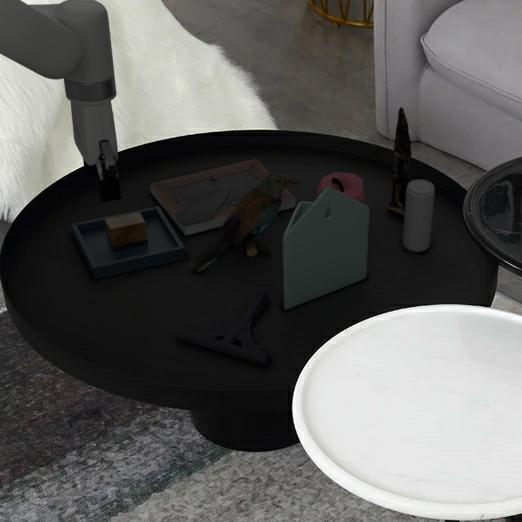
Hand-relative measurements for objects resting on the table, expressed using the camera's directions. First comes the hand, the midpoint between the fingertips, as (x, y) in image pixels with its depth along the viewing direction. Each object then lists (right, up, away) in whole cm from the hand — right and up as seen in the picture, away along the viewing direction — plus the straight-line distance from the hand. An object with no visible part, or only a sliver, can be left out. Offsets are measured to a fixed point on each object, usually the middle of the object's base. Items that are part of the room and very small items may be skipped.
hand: (102, 186), depth 162 cm
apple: (+38, -3, +19) cm, 42 cm away
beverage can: (+52, -8, +14) cm, 54 cm away
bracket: (+24, -24, -6) cm, 34 cm away
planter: (+34, -15, +4) cm, 38 cm away
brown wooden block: (+2, -8, +9) cm, 12 cm away
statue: (+50, -1, +22) cm, 54 cm away
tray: (+2, -9, +9) cm, 13 cm away
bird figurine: (+22, -10, +10) cm, 26 cm away
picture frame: (+16, +1, +22) cm, 27 cm away
